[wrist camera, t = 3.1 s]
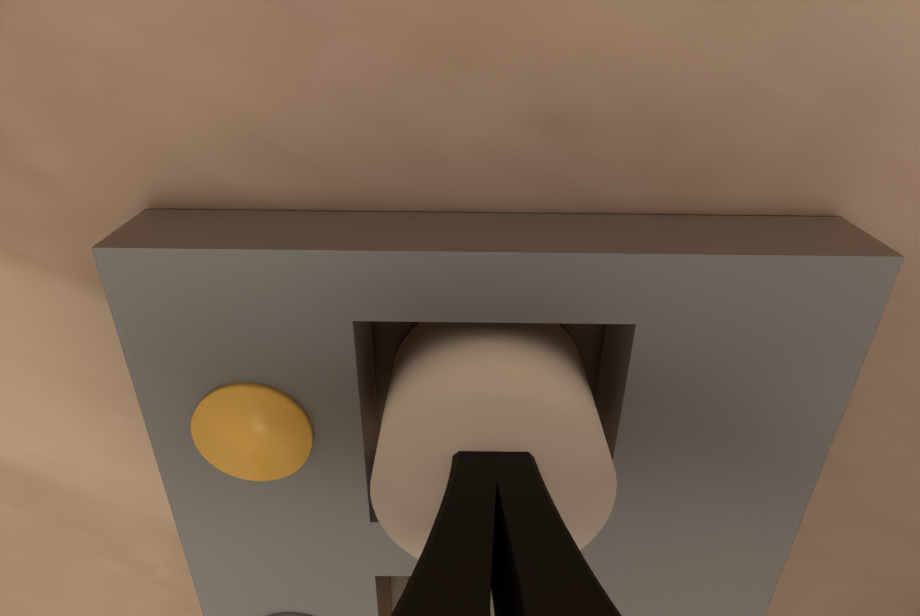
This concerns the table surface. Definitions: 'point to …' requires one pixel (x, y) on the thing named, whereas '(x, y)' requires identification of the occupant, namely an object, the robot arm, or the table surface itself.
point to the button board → (490, 301)
